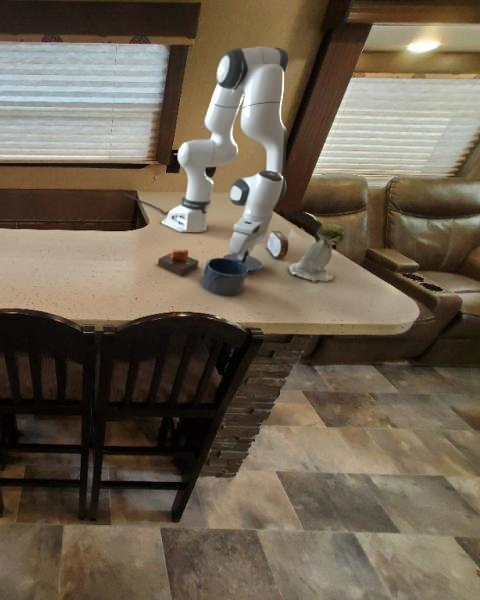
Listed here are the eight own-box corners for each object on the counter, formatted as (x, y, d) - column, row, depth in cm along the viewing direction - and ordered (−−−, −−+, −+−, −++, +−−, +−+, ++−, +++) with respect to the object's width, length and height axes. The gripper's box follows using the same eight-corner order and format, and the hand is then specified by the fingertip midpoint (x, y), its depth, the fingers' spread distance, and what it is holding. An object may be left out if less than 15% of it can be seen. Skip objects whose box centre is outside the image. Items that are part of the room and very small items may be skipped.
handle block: (157, 265, 114) (158, 258, 112) (173, 258, 119) (174, 250, 117) (181, 276, 107) (183, 268, 105) (197, 267, 112) (199, 260, 110)
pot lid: (215, 262, 112) (218, 249, 109) (233, 252, 119) (237, 240, 116) (250, 276, 103) (255, 262, 100) (267, 264, 110) (273, 251, 107)
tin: (283, 262, 115) (292, 242, 110) (275, 261, 116) (283, 241, 111) (271, 246, 127) (278, 227, 123) (263, 245, 128) (270, 227, 123)
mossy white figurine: (281, 266, 112) (301, 219, 102) (313, 264, 113) (335, 218, 102) (303, 282, 102) (328, 232, 92) (338, 280, 103) (366, 230, 93)
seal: (171, 260, 111) (173, 251, 109) (171, 258, 112) (172, 249, 110) (186, 260, 110) (188, 251, 108) (185, 258, 112) (187, 249, 110)
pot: (189, 286, 101) (194, 267, 97) (217, 270, 110) (223, 252, 106) (224, 303, 93) (231, 282, 89) (251, 284, 102) (258, 264, 98)
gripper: (259, 213, 109) (248, 247, 117) (231, 226, 99) (220, 262, 107) (277, 217, 105) (264, 252, 113) (250, 231, 95) (237, 269, 103)
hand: (242, 257), depth 110 cm, fingers closed on pot lid, 2 cm apart
